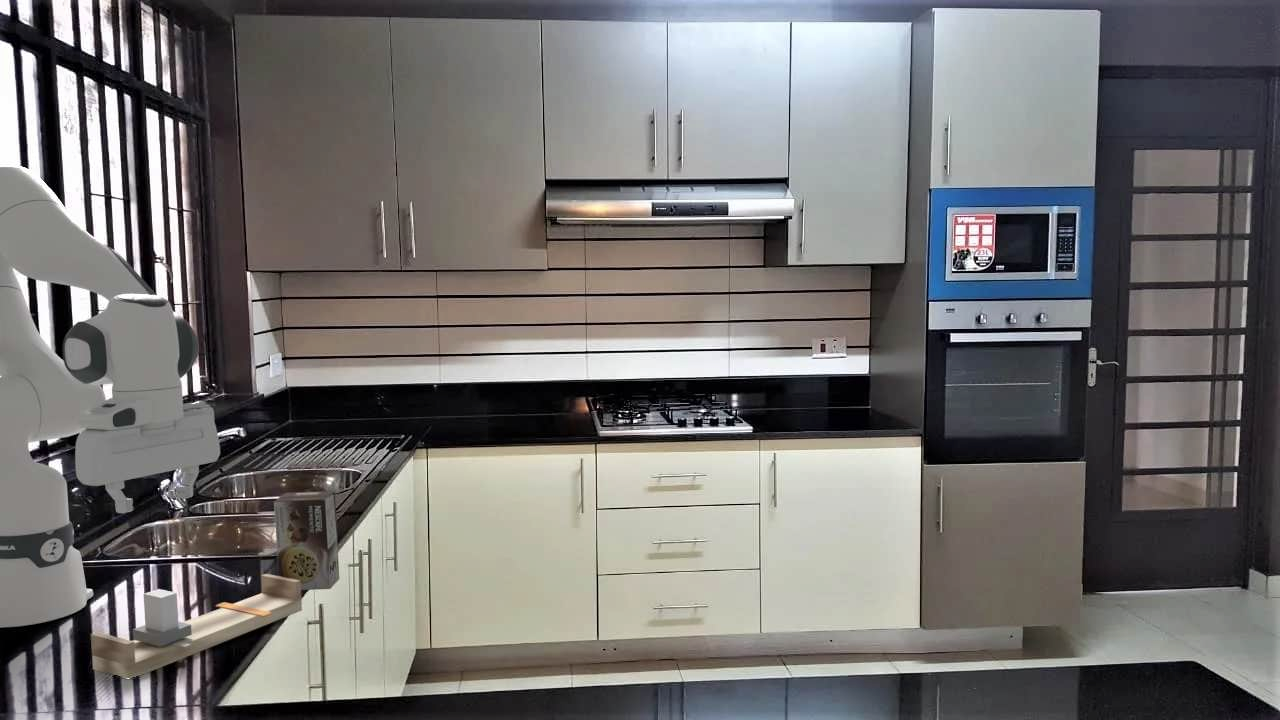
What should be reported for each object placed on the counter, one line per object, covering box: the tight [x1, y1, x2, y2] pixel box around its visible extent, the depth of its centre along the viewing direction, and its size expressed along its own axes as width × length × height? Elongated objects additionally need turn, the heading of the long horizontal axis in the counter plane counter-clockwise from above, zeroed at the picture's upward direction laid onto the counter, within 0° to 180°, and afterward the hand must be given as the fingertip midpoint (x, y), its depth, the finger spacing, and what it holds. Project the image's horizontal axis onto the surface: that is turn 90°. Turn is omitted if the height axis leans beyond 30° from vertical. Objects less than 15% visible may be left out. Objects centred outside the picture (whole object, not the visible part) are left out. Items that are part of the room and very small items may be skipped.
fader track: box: [90, 573, 303, 679], centre depth 145 cm, size 11×30×5 cm, turn 152°
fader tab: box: [132, 588, 192, 647], centre depth 138 cm, size 6×5×6 cm
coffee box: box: [273, 490, 340, 591], centre depth 168 cm, size 9×6×16 cm
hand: (155, 504), depth 137 cm, fingers open, 8 cm apart
